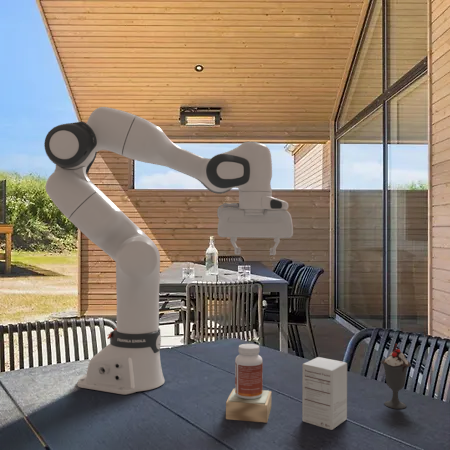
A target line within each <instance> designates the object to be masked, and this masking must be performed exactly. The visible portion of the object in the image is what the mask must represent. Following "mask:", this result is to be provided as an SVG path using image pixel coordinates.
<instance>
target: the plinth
mask: <svg viewBox="0 0 450 450" xmlns="http://www.w3.org/2000/svg"><path fill="white" fill-rule="evenodd" d="M272 393H273V392H272V390H264V389H263V392H262V396H261V397H259V398H256V399H243V398H240V397H238V396H236V394H235V388H232V391H231V392H230V394H229V395H228V398H227V400H226V402H225V419H226V420H232V421H233V420H234V421H244V422H255V423H266V424H268V421H269V417H270V413H271V410H272Z"/></svg>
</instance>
